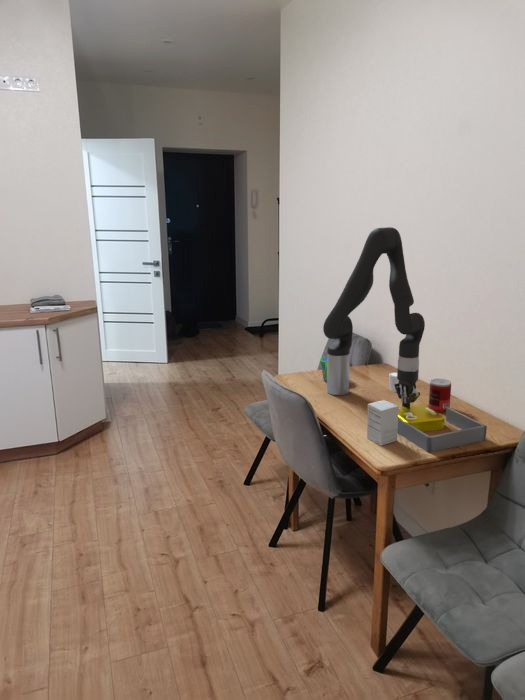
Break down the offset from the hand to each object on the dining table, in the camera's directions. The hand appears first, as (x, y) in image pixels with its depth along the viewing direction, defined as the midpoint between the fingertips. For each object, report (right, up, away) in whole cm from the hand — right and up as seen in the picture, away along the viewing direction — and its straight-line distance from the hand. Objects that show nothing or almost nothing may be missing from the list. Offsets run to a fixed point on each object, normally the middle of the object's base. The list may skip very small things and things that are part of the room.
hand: (405, 411), depth 194 cm
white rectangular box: (-13, -8, -19) cm, 24 cm away
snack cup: (-22, +9, +43) cm, 49 cm away
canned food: (+15, 0, +6) cm, 16 cm away
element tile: (+2, -4, -6) cm, 8 cm away
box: (+7, -6, -17) cm, 19 cm away
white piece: (+4, +6, +28) cm, 29 cm away
